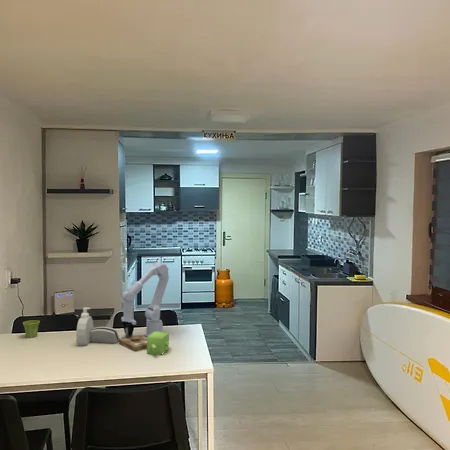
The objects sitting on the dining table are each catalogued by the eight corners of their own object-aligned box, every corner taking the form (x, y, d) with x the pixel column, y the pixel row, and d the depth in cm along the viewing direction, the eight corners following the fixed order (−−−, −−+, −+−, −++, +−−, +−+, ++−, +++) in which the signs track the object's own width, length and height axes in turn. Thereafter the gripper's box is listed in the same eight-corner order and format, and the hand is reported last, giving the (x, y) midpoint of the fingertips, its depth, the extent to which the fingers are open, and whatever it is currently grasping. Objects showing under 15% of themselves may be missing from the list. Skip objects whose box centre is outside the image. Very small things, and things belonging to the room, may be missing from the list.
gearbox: (161, 359, 224) (162, 341, 223) (143, 356, 226) (143, 339, 225) (172, 347, 241) (173, 331, 241) (156, 345, 243) (156, 329, 243)
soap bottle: (85, 346, 242) (85, 311, 242) (76, 346, 242) (75, 311, 241) (94, 338, 258) (94, 305, 258) (85, 338, 258) (85, 304, 258)
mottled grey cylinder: (130, 336, 259) (129, 326, 259) (133, 337, 257) (132, 327, 256) (124, 337, 257) (124, 327, 257) (127, 338, 254) (127, 328, 254)
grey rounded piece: (120, 340, 254) (118, 326, 250) (117, 345, 249) (115, 330, 246) (94, 339, 257) (91, 324, 253) (90, 344, 252) (87, 329, 249)
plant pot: (22, 335, 264) (22, 321, 264) (39, 333, 268) (39, 319, 268) (22, 339, 256) (22, 324, 256) (40, 337, 260) (40, 323, 260)
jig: (139, 339, 256) (139, 334, 256) (155, 346, 242) (155, 341, 242) (119, 343, 247) (119, 338, 247) (134, 351, 234) (134, 346, 234)
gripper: (116, 310, 259) (116, 333, 260) (128, 314, 248) (128, 338, 249) (127, 308, 264) (127, 330, 264) (139, 313, 253) (139, 336, 253)
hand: (128, 334), depth 257 cm, fingers closed on mottled grey cylinder, 4 cm apart
